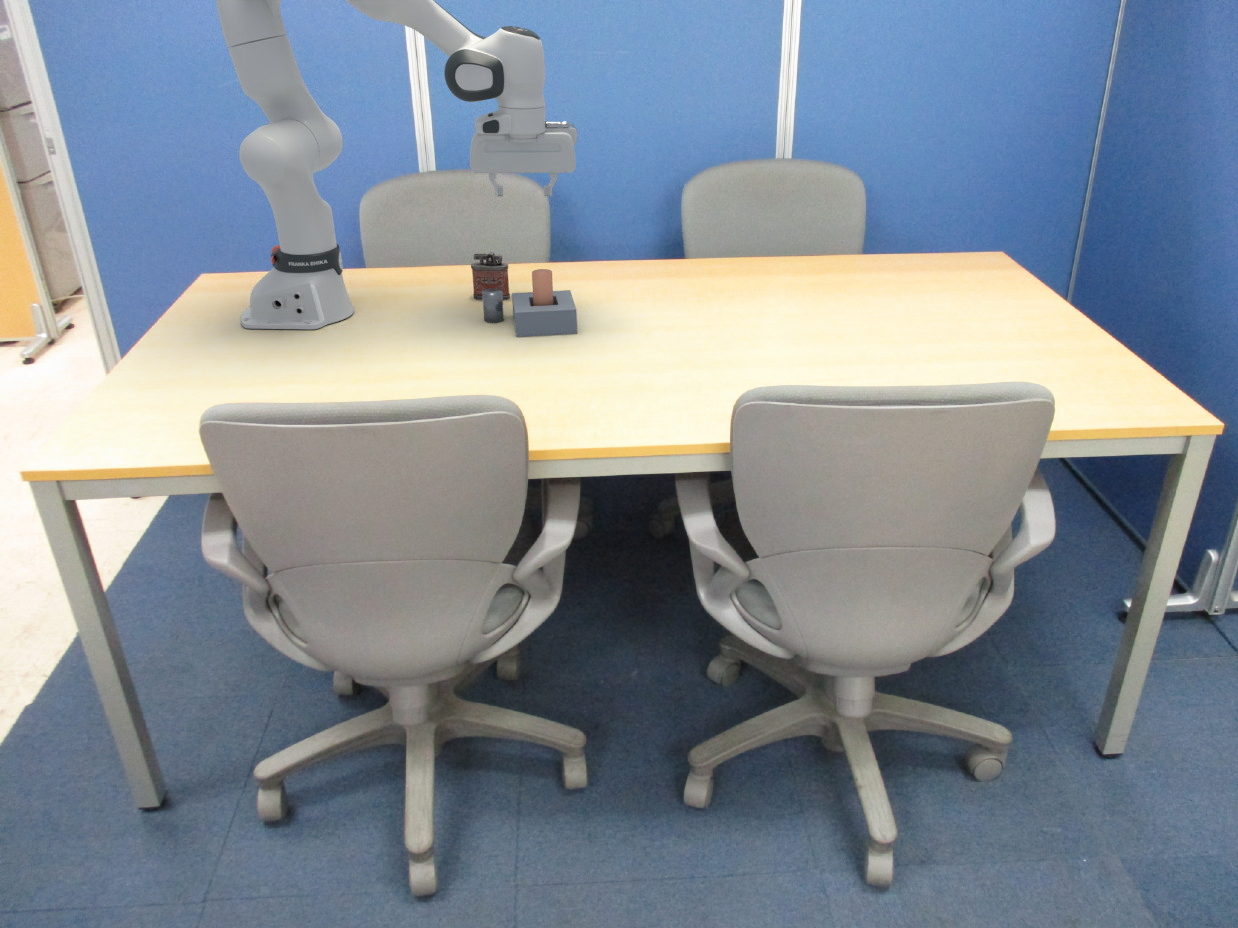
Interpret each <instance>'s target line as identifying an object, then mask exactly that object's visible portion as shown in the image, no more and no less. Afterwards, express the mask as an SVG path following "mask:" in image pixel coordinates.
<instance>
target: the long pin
mask: <svg viewBox="0 0 1238 928" xmlns="http://www.w3.org/2000/svg"><path fill="white" fill-rule="evenodd" d="M531 283H532V284H531V285H532V292H533V306H547V305H553V291H554V287H553V271H552V270H551V269H548V268H547V269H546V268H539V269H534V270H532V271H531Z"/></svg>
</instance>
